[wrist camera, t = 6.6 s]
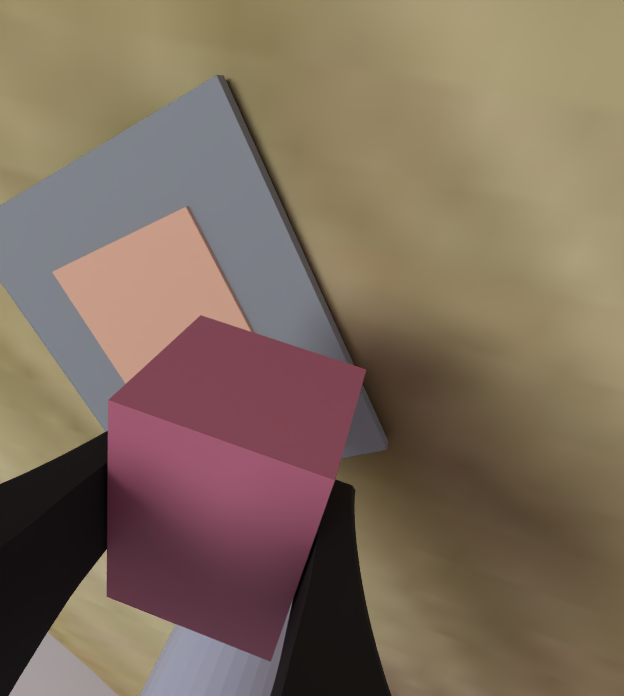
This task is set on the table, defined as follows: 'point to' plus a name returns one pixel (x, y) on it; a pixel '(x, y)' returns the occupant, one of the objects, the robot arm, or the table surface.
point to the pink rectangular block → (223, 479)
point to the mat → (164, 252)
